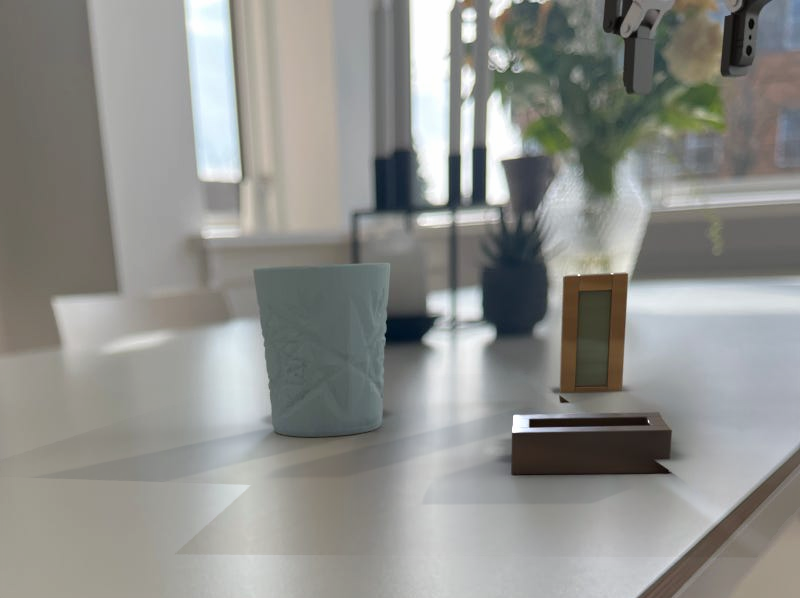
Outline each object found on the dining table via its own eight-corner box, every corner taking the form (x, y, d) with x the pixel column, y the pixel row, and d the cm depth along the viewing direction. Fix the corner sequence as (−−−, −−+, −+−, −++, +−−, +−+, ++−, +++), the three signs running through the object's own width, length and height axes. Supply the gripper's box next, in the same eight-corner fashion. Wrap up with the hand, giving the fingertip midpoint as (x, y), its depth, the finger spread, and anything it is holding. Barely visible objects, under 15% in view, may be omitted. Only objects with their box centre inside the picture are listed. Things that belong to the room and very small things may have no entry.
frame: (559, 398, 89) (563, 275, 85) (619, 396, 88) (625, 272, 84) (559, 402, 86) (563, 276, 83) (621, 400, 85) (628, 273, 82)
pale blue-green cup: (243, 437, 78) (230, 269, 74) (293, 415, 87) (284, 264, 83) (371, 439, 75) (365, 263, 70) (409, 416, 83) (406, 258, 79)
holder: (513, 453, 67) (513, 414, 66) (656, 451, 66) (659, 412, 65) (511, 474, 61) (511, 432, 61) (669, 473, 60) (672, 429, 59)
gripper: (833, -211, 67) (802, 72, 72) (656, -140, 78) (642, 100, 84) (760, -233, 63) (734, 68, 69) (585, -155, 74) (576, 98, 80)
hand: (683, 85), depth 76 cm, fingers open, 8 cm apart
